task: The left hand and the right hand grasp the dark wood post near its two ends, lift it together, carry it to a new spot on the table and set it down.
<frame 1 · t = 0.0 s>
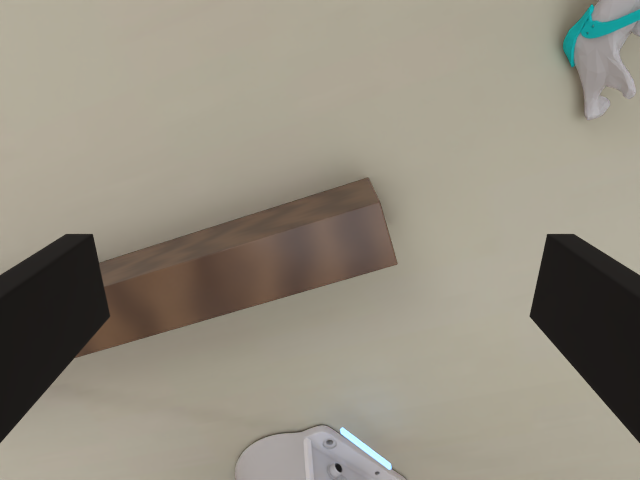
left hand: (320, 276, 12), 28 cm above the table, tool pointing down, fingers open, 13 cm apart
post: (127, 281, 44), on the table
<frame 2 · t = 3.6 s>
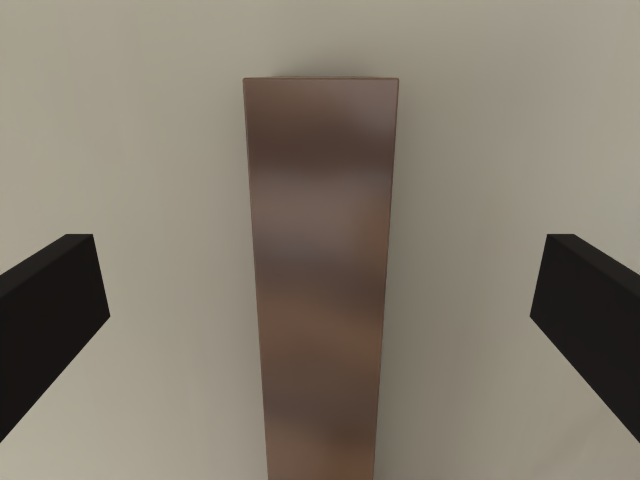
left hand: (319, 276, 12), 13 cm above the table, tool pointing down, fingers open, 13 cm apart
post: (320, 449, 32), on the table, touching right hand
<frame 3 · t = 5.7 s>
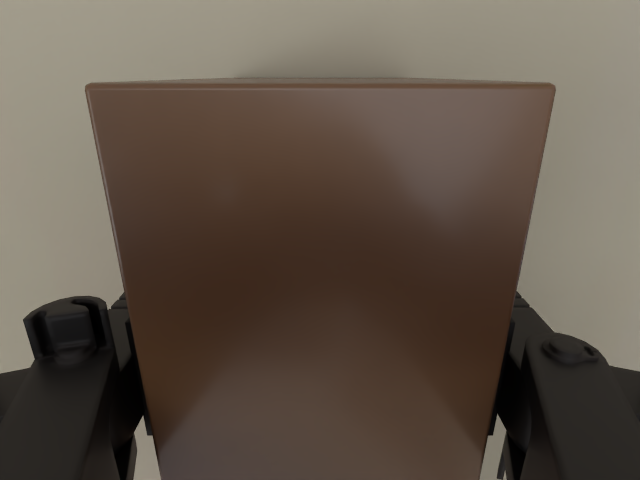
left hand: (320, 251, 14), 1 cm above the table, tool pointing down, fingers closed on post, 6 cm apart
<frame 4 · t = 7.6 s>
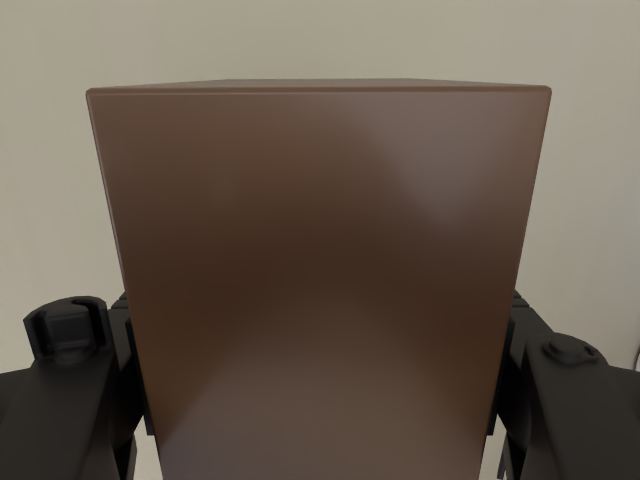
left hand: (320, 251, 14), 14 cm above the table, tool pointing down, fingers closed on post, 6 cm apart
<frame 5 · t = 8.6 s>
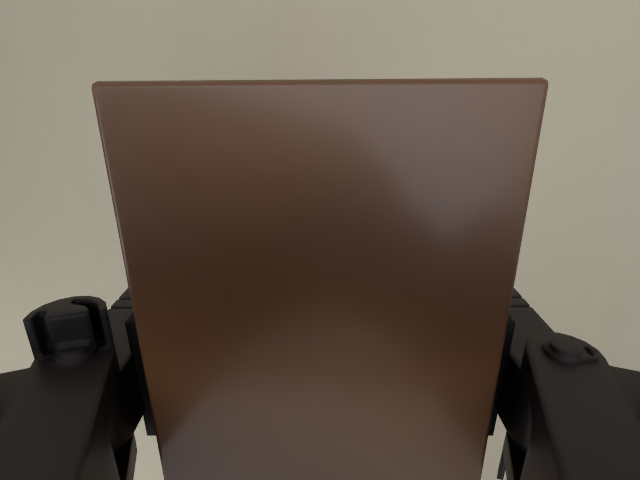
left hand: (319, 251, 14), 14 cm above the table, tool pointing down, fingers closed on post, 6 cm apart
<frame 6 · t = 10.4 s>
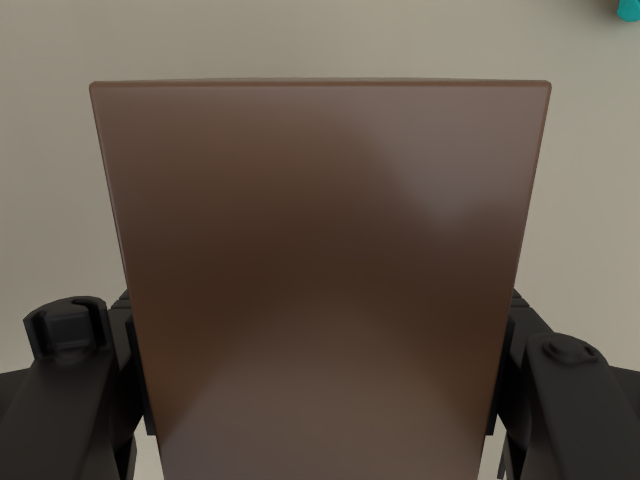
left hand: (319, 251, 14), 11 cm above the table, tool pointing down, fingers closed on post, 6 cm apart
when the left hand's fingers open (2 cm above the table, at t = 11.7 s): post drops 1 cm, on the table.
when the right hand's fingers open (4 cm above the table, at t = 11.9 s): post stays where it is, on the table.
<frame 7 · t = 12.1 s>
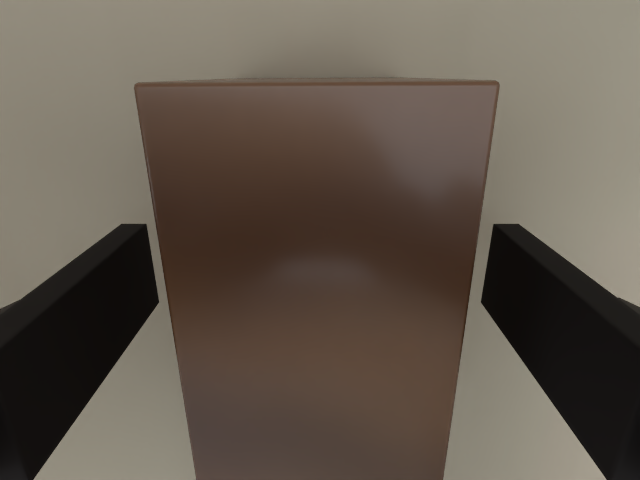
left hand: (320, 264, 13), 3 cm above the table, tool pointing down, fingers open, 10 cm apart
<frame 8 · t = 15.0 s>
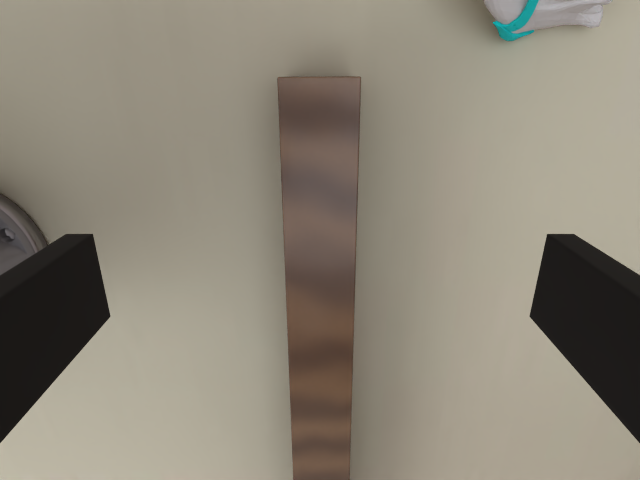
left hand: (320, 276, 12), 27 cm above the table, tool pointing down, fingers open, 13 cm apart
post: (320, 342, 45), on the table
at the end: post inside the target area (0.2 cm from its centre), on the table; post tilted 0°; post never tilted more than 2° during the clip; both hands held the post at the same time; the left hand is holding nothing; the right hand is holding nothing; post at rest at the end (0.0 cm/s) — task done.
